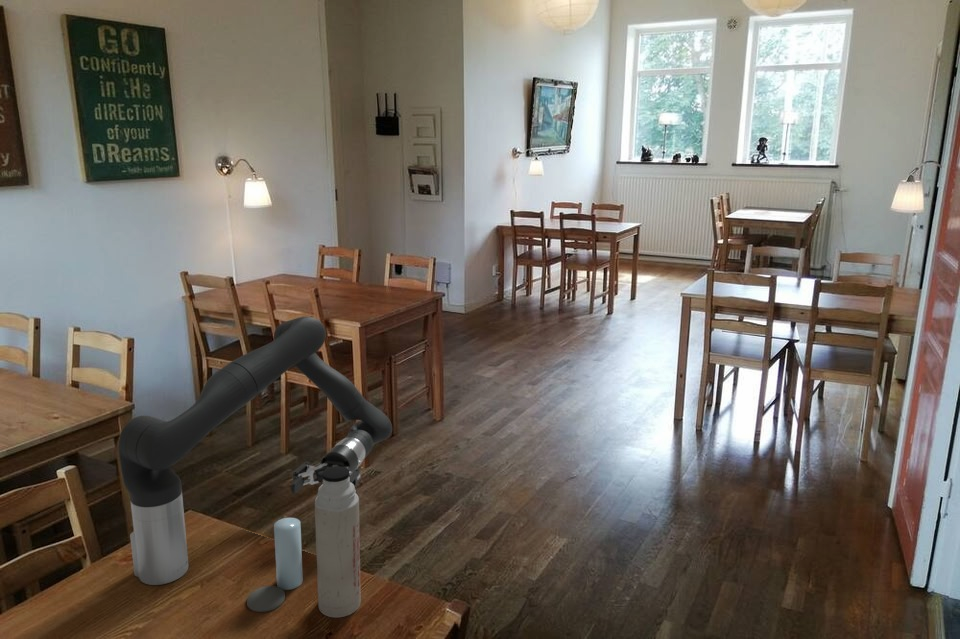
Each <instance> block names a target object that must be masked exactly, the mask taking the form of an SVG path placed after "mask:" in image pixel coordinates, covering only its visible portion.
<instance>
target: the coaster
mask: <svg viewBox="0 0 960 639" xmlns="http://www.w3.org/2000/svg"><path fill="white" fill-rule="evenodd" d="M285 594H286V593H285V590H283V589H281V588H279V587H278V586H275V585H266V586H261V587H258V588H256V589H254V590H252V591H251V593H249V595H248V596H247V598H246V607H247V608H248V609H249V610H251V611H253V612H256V613H268V612H271V611H273V610H276V609H278V608H279V607H280V606H282V605H283V603H284V602H285V600H286V599H285V598H286V595H285Z"/></svg>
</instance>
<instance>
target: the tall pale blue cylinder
mask: <svg viewBox="0 0 960 639" xmlns="http://www.w3.org/2000/svg"><path fill="white" fill-rule="evenodd" d="M273 533H274V535H273V536H274V550H275V551H274V552H275V571H276V574H275V575H276V585H277V586H276V587H279V588H281V589H282V590H283V591H289V590H290V591H291V590H295V589H296V588H298V587H300V586H301V585H302V583H303V581H304V580H303V579H304V578H303V556H302V528H301V520H299V519H298V518H296V517H284V518H281V519H279V520H277V521H276V522H274V525H273Z"/></svg>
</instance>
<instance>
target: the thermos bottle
mask: <svg viewBox="0 0 960 639" xmlns="http://www.w3.org/2000/svg"><path fill="white" fill-rule="evenodd" d="M322 478H323V483H322V484H321V485H320V486H319V487H318V489H317V493H316V495H317V496H316V497H315V500H314V517H315V518H314V521H315V524H314V525H315V546H316V548H315V549H316V564H317V565H316V566H317V602H318V603H317V604H318V605H317V606H318V609H319V612H321V613H322V615H324V616H326V617H329V618H334V619H335V618H336V619H337V618H342V617H343V618H344V617H347V616H350V615H352V614H353V613H355V612H356V611H357V610H358V609H359V608H360V606H361V601H362V599H361V598H362V597H361V592H362V591H361V551H360V550H361V546H360V542H361V541H360V498H359V495H358V494H357V493H356V492H357V491H356V487H354V485H353V484H352V483H351V482H350V478H349V470H348V469H347V468H345V467H341V466H335V467H329V468H327V469H325V470H324V471H323V472H322Z"/></svg>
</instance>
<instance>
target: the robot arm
mask: <svg viewBox="0 0 960 639" xmlns="http://www.w3.org/2000/svg"><path fill="white" fill-rule="evenodd" d="M274 330H275V331H274V332H273V340H272V341H271V342H269V343H267V344H265V345H262V346H261V347H258V348H256V349H254V350H251V351H249V352H247V353H245V354H243V355H241V356H240V357H237V358H235V359H234V360H232V361H230V362H229V363H227V364H226V365H224V366H223V367H222V368H220V369H219V370H217V371H215V372H214V373H213V374H212V375H211V376H210V377H209V378H208V379H207V380H206V382H205V384H204V385H203V388H202V390H201V392H200V394H199V396H198V399H197V400H196V401H195V402H194V404H193V405H191V406H190V407H189V408H188V409H186V410H185V411H184V412H182V413H181V414H179V415H178V416H176V417H174V418H173V419H171V420H167V421H166V420H163V419H160V418H157V417H154V416H150V415H139V416H136V417H134V418H131V419H130V420H129V421H127V423H125V425H124V427H122V430H121V432H120V435H119V437H118V447H117V448H118V457H119V463H120V469H121V474H122V480H123V485H124V487H125V489H126V491H127V492H128V494H129V499H130V508H131V516H132V518H131V519H132V525H133V527H132V528H133V531H132V532H131V533H130V535H129V538H130V547H131V556H132V563H133V573H134V577H136V578H138V579H139V581H141V583H143V584H145V585H149V586H159V585H160V586H161V585H165V584H169V583H172V582H174V581H177V580H178V579H180V578H182V577H183V576H184V575H185V574H186V573H187V572H188V570H189V566H190V565H189V557H188V556H189V555H188V547H187V546H188V545H187V535H186V522H185V513H184V512H185V511H184V500H183V489H182V481H181V479H180V477H179V476H178V474H177V473H175V471H174V470H173V469H172V467H173V466H174V465H176V464H178V462H180V461H181V460H182V459H183V458H184V457H185V456H186V455H187V454H188V453H189V452H191V450H192V449H193V448H195V447H196V446H197V445H198V444H199V443H200V442H201V441H202V440H203V439H204V438H205V437H206V436H207V435H209V434H210V433H211V432H212V431H213V430H214V429H215V428H217V427H218V426H219V425H221V424H222V423H223V422H225V421H226V420H227V419H228V418H229V417H230V416H232V415H233V414H234V413H235V412H237V411H238V410H240V409H241V408H243V407H244V406H246V405H247V404H248V403H250V401H252V400H254V398H256V397H258V395H259V394H261V393H262V392H264V390H265V389H266V388H268V387H269V386H270V385H271V384H273V383H274V382H275V381H276V380H278V379H279V378H280V377H281V376H282V375H284V374H285V373H286V372H287V371H288V370H289V369H291V368H293V367H294V366H295V368H297V369H298V370H299V371H300V372H301V373H302V374H303V375H304V376H305V377H306V378H308V379H309V381H310V382H312V384H314V385H315V386H316V387H317V388H318V390H320V391H321V392H322V393H323V395H324V396H326V398H327V399H328V400H329V402H330V403H331V404H332V405H333V406H334V408H335V409H336V410H337V412H338V413H339V414H340V415H341V416H342V417H343V419H344V420H346V421H356V422H355V423H353V425H352V426H350V428H349V430H348V432H347V435H346V436H345V437H344V438H343V439H342V440H340V441H338V442H337V443H336V444H335V445H334V446H333V447H332V448H331V449H330V450H329V451H328V452H327V453H326V454H325V455H324V456H322V458H321V461H320V462H319V463H318V464H316V465H310V461H304V462H303V463H301V465H299V466H298V467H297V468H296V469H295V470H293V471H292V482H291V483H290V489H291V494H295V495H296V494H297V493H298V492H299V491H300V490H301V489H302V488H303V487H304V486H306V485H312V486H313V485H315V484H319V483H322V484H323V478H322V472H323V471H324V470H325V469H327V468H329V467H335V466H341V467H345V468H347V469H348V470H349V478H350V482H351V483H352V484H353V485H354V487H355V488H356V487H357V485H358V484H359V483H360V481H361V469H359V467H360V466H361V464H362V463H363V461H364V460H365V459H366V457H367V456H368V455H369V454H370V452H371V451H372V449H373V446H374V445H375V444H378V443H380V442H383V441H386V440H387V439H389V438H390V437H391V436H392V433H393V425H392V422H391V420H390V418H389V416H388V415H387V414H386V413H385V412H383V411H382V410H380V409H379V408H378V407H376V406H375V405H374V404H372V403H371V402H369V401H368V400H367V399H366V398H365V397H364V396H363V394H361V392H360V391H359V390H358V388H357V387H356V386H355V384H354V383H353V382H352V381H351V380H350V379H348V378H347V377H346V376H345V375H344V374H342V373H341V372H339V371H337V370H336V369H334V368H333V367H332V366H330V365H329V364H328V363H326V362H325V361H324V360H323V359H322V358H321V357H319V355H318V354H317V352H318V351H320V349H321V348H322V347H323V345H324V344H325V341H326V337H327V336H326V328H325V325H324V324H323V322H321V321H320V320H319V319H318V318H316V317H313V316H308V315H307V316H300V317H297V318H294V319H290V320H289V319H288V320H286V321H283V322H281V323H280V324H279V325H277V327H276V328H275V329H274ZM306 477H307V479H305V478H306ZM314 477H315V478H314Z"/></svg>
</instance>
